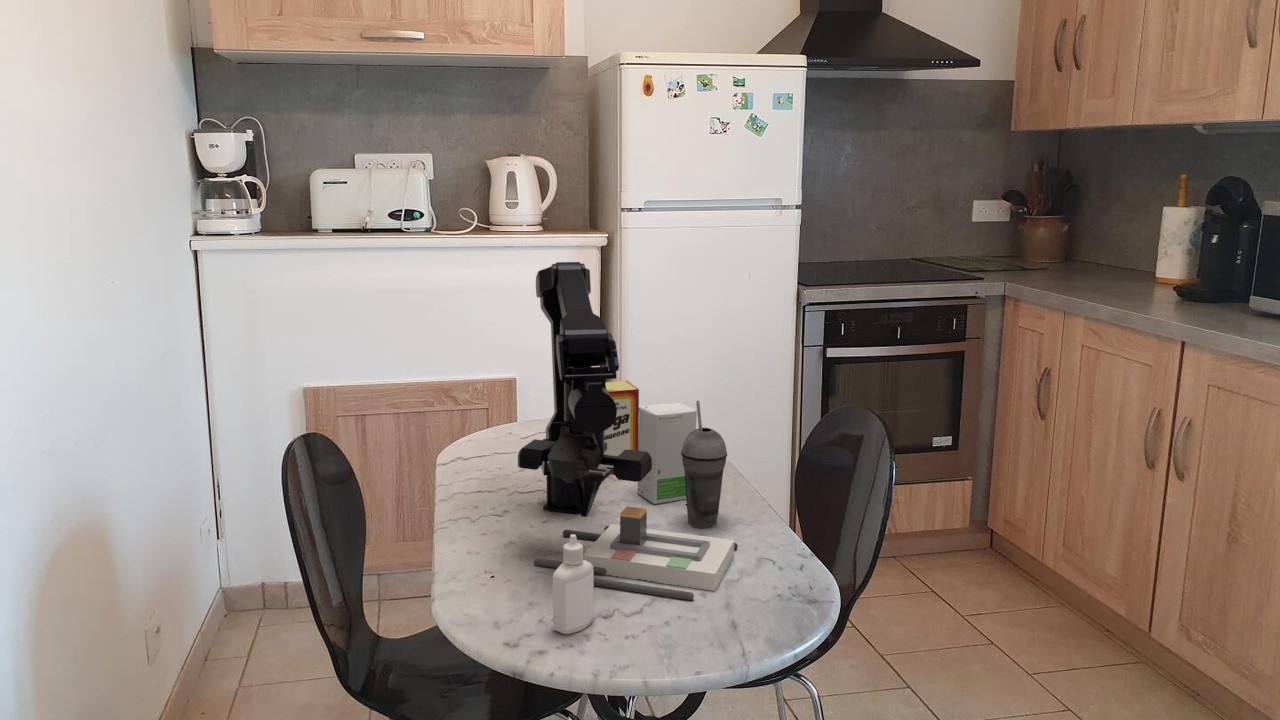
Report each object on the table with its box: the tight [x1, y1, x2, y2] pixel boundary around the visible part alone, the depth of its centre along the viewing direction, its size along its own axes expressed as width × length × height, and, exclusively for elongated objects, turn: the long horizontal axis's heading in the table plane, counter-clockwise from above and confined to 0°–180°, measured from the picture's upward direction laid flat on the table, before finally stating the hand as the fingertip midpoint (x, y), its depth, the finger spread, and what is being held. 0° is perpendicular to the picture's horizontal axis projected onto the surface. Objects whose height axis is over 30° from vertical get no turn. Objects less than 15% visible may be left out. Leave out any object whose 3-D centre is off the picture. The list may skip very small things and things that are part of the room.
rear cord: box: [562, 525, 739, 550], centre depth 147 cm, size 26×4×1 cm, turn 72°
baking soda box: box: [604, 380, 640, 475], centre depth 179 cm, size 10×6×16 cm
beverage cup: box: [681, 400, 728, 529], centre depth 153 cm, size 7×7×20 cm
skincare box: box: [636, 402, 698, 505], centre depth 165 cm, size 8×7×16 cm
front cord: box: [533, 557, 695, 601], centre depth 134 cm, size 24×4×1 cm, turn 72°
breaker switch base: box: [583, 523, 735, 592], centre depth 140 cm, size 19×12×3 cm, turn 72°
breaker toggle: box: [619, 505, 648, 546], centre depth 140 cm, size 3×3×5 cm
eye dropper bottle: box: [552, 534, 595, 635], centre depth 121 cm, size 4×6×12 cm
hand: (584, 515), depth 142 cm, fingers closed
